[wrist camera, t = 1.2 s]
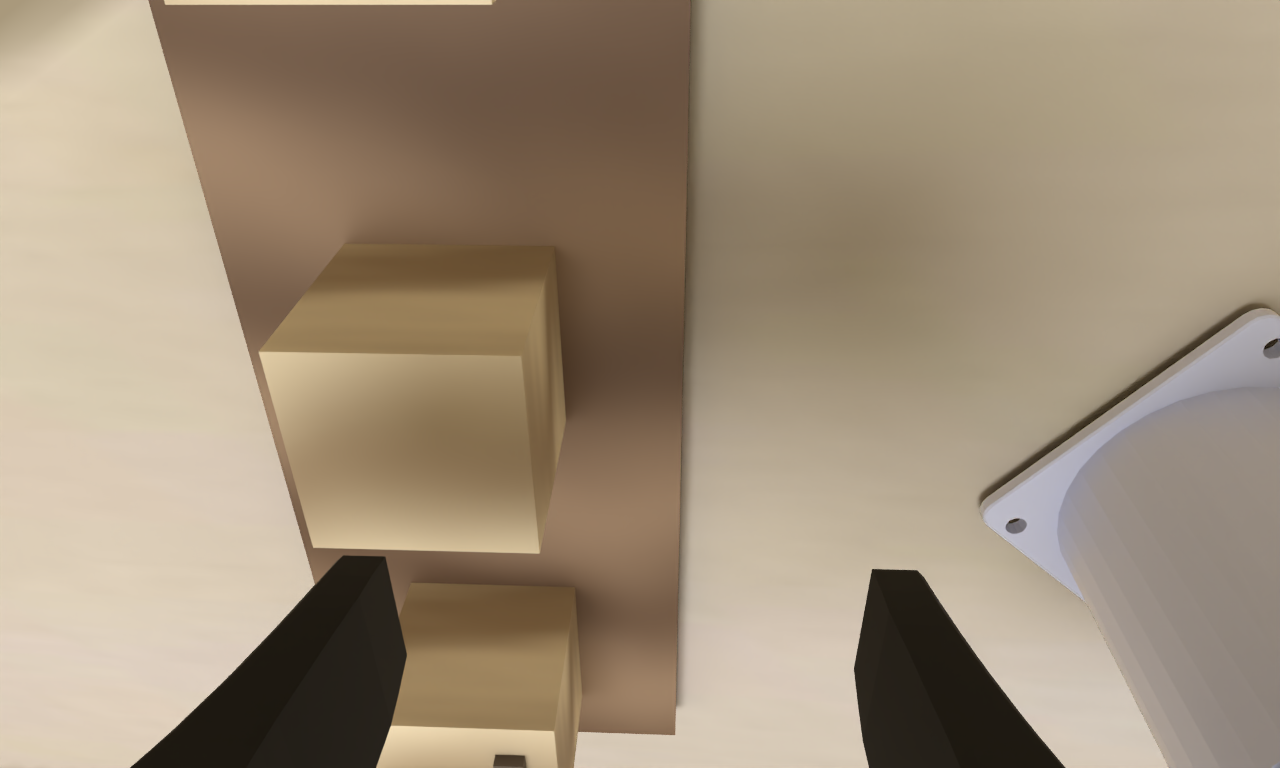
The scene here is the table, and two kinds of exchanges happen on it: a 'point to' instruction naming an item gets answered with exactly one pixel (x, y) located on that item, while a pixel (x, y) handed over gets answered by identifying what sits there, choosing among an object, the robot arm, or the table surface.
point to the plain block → (423, 397)
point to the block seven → (487, 678)
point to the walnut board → (483, 215)
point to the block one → (329, 2)
